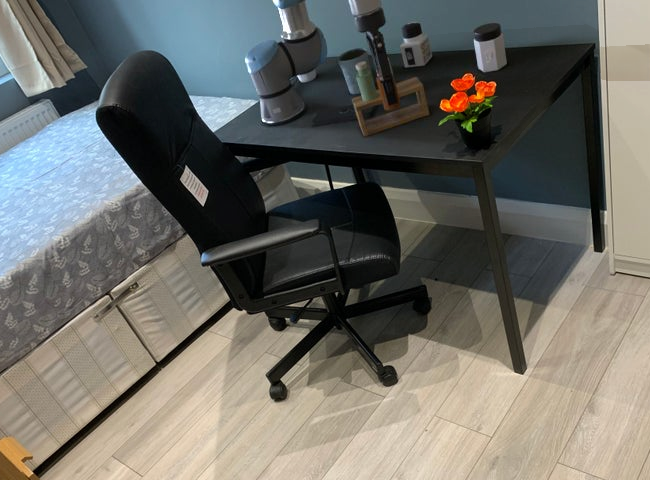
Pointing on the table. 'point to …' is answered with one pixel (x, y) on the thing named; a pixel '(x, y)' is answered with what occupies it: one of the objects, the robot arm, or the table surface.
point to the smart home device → (340, 114)
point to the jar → (489, 47)
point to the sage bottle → (365, 82)
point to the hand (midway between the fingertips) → (390, 100)
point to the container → (415, 46)
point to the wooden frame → (396, 116)
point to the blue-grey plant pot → (353, 66)
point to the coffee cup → (307, 75)
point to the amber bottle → (384, 92)
